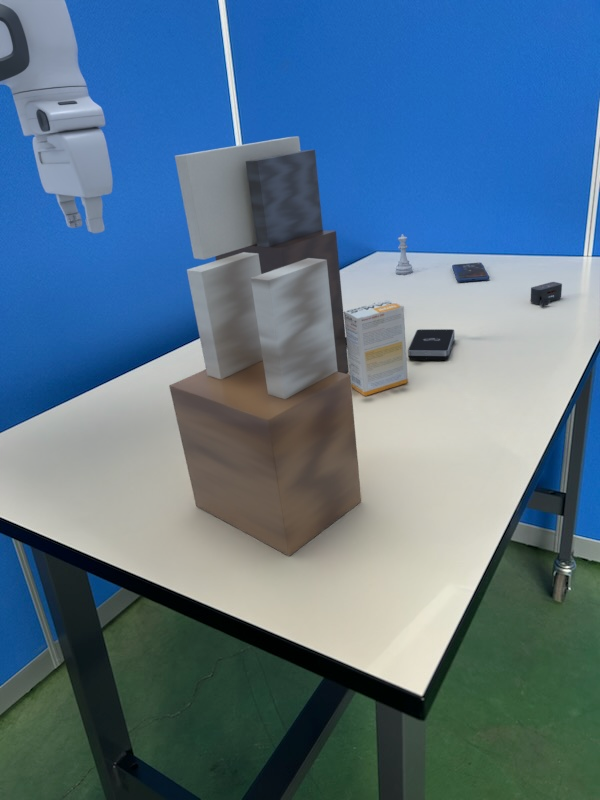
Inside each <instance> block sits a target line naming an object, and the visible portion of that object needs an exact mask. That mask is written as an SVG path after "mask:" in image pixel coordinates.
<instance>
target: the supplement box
mask: <svg viewBox="0 0 600 800" xmlns="http://www.w3.org/2000/svg"><path fill="white" fill-rule="evenodd" d="M404 307H405V306H404V305H403V304H400V303H397V302H395V301H392V300H389V299H386V300H383V301H378V302H374V303H371V304H367V305H364V306H360V307H356V308H351V309H347V310H343V314H344V326H345V337H346V339H347V345H346V348H347V359H348V370H349V375H350V379H351V389H354V390H355V391H357V393H359V394H361V395H363V397H367V396H370V395H374V394H376V393H380V392H382V391H385V390H388V389H389V390H390V389H391V388H396V387H399V386H402V385H405V384H408V383H409V377H408V360H407V357H408V356H407V342H406V323H405V308H404Z"/></svg>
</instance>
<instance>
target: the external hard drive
mask: <svg viewBox="0 0 600 800" xmlns="http://www.w3.org/2000/svg"><path fill="white" fill-rule="evenodd" d="M454 340H455V329H453V328H451V329H450V328H449V329H448V328H445V329H444V328H440V329H439V328H436V329H433V328H432V329H429V328H428V329H425V328H424V329H423V328H422V329H421V328H420V329H416V331H415V333H414V335H413V337H412V340H411V342H410V344H409V346H408V347H407V357H408V359H409V360H411V361H412V360H414V361H415V360H417V361H420V360H421V361H424V360H426V361H446V360H448V359H449V357H450V355H451V350H452V348H453V344H454Z"/></svg>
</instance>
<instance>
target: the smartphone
mask: <svg viewBox="0 0 600 800" xmlns="http://www.w3.org/2000/svg"><path fill="white" fill-rule="evenodd" d="M451 268H452V271H453V273H454V276H455V278H456V281H457V282H458V283H461V282H462V283H463V282H473V281H474V282H475V281H487V280H490V278H491V277H490V275H489V273H488V272H487V269H485V266H484V264H483V263H482V262H468V263H457V264H452V265H451Z"/></svg>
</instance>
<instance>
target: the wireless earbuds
mask: <svg viewBox="0 0 600 800" xmlns="http://www.w3.org/2000/svg"><path fill="white" fill-rule="evenodd" d="M562 290H563V283H562V282H556V281H551V282H546V283H543V284H539V285H536V286H531V287H530V303H531V304H535V305H538V306H540V307H545V306H548V305H550V303H552V302H555V301H558V300H560V299H561V298H562V294H563V293H562Z"/></svg>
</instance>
